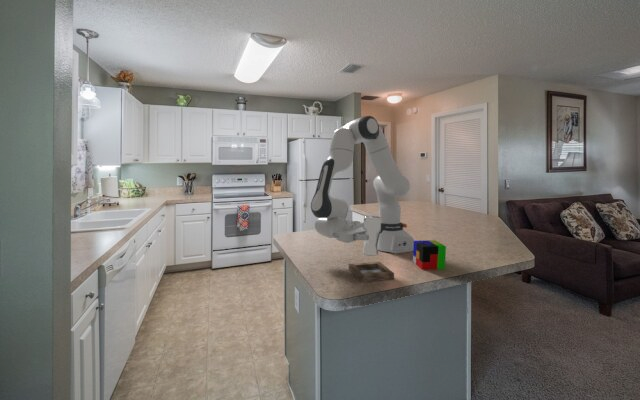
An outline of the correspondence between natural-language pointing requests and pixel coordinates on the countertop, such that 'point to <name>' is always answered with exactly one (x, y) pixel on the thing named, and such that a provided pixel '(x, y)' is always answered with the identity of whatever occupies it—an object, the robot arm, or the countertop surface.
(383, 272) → the cradle jig
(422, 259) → the puzzle toy
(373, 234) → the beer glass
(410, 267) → the countertop surface
